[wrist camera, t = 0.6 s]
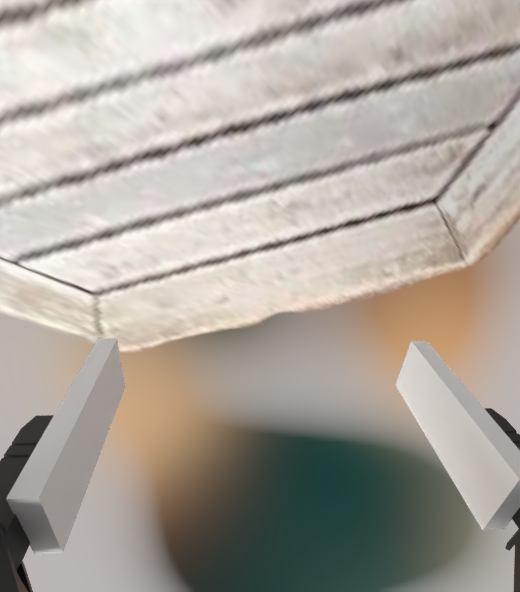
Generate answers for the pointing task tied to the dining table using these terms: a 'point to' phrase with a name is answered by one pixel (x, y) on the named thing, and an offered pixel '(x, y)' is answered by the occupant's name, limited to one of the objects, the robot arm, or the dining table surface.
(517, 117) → the dining table surface
